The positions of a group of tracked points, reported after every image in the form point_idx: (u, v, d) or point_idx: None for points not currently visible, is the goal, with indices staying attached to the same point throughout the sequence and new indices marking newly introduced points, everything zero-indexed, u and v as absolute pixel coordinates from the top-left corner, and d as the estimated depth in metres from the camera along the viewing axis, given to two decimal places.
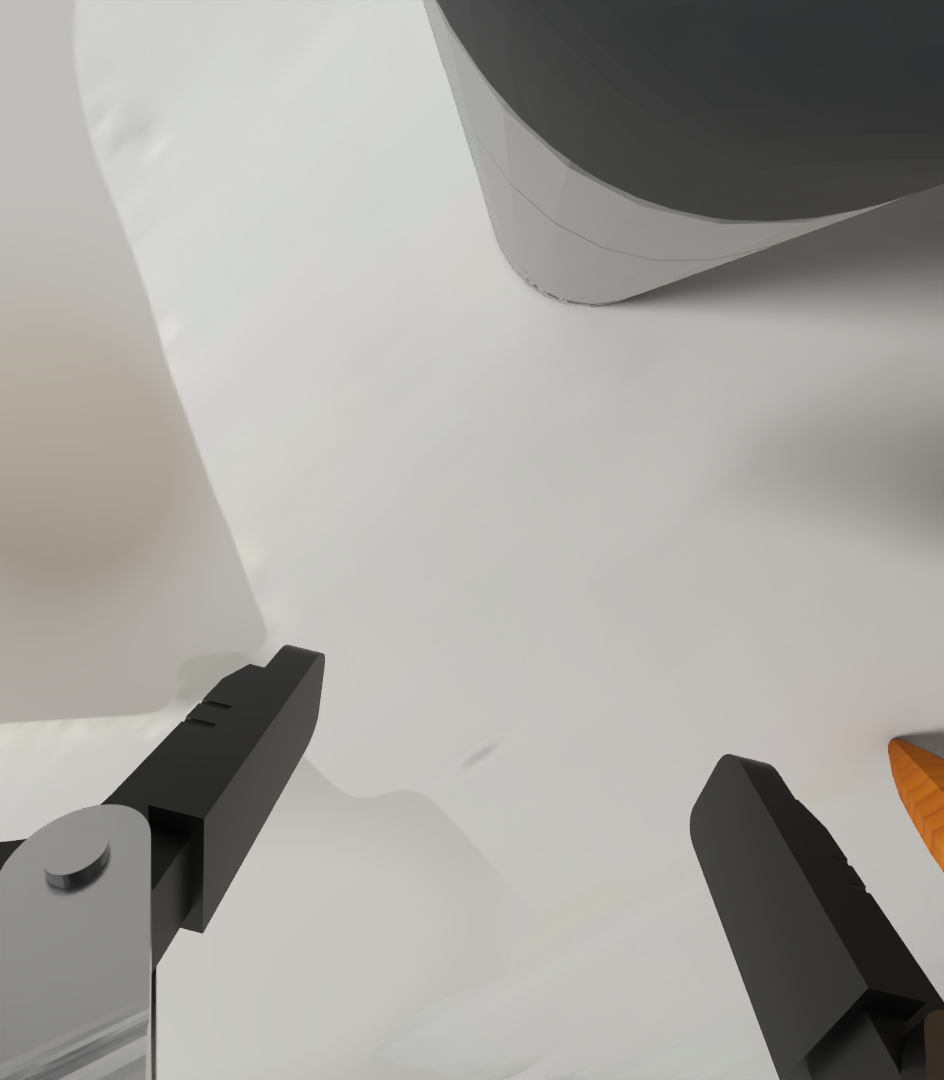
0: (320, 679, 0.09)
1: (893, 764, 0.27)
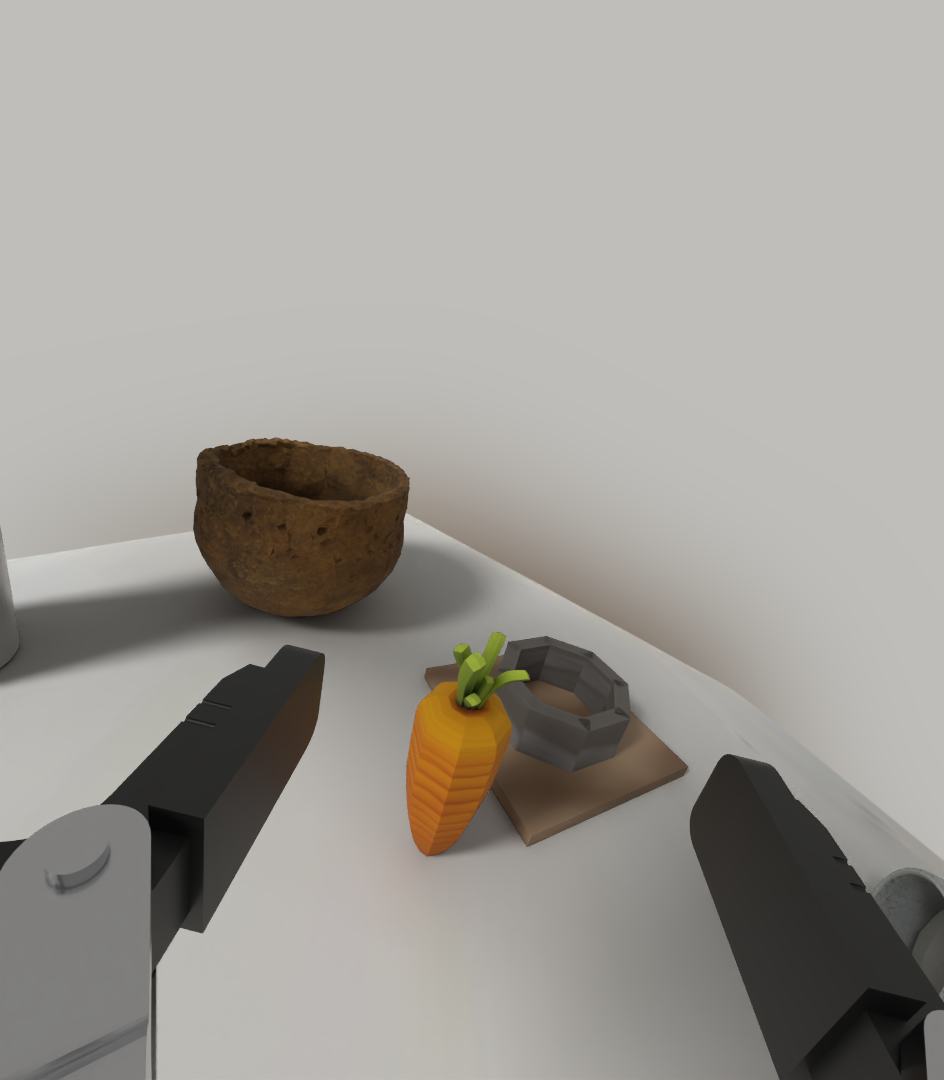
0: (320, 679, 0.09)
1: None
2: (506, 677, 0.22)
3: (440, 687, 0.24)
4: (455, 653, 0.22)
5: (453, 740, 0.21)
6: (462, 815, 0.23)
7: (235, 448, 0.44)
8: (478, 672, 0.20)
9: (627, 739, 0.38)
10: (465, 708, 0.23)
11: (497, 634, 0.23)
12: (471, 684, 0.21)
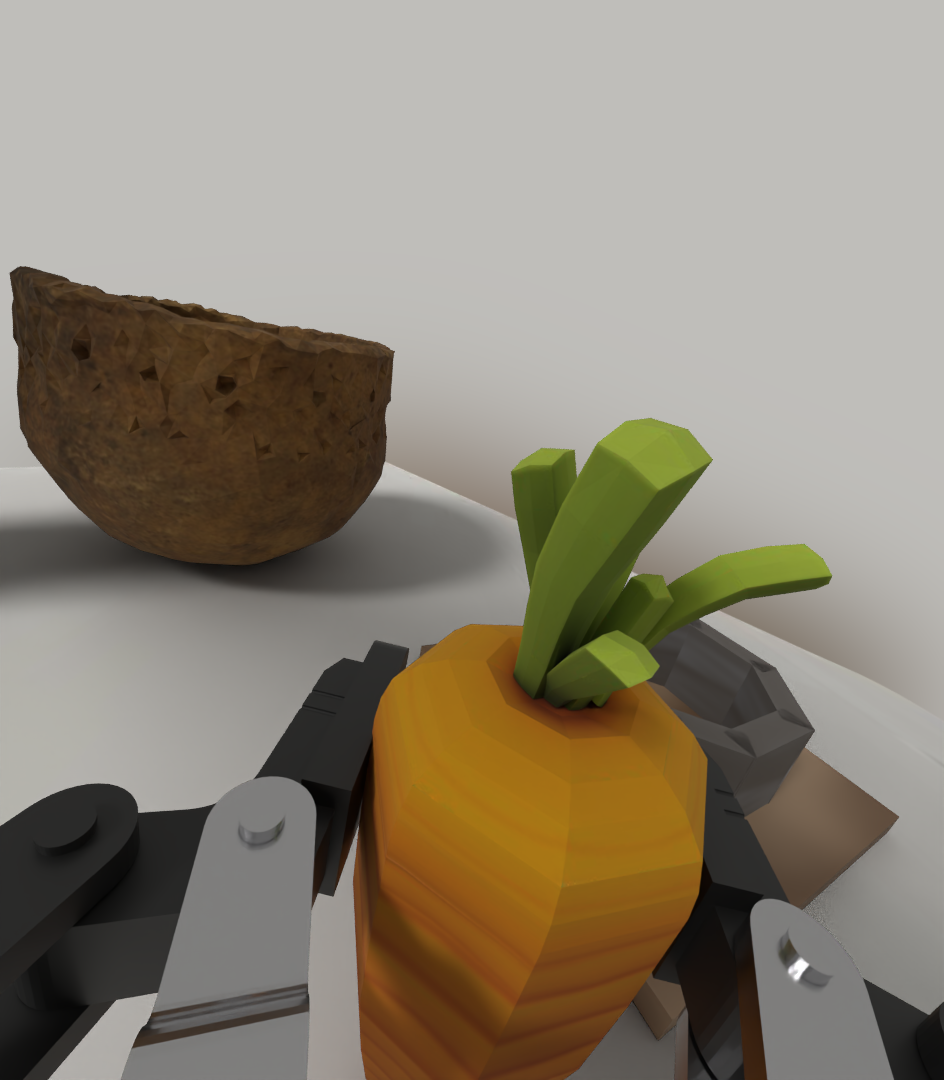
0: None
1: None
2: (724, 576, 0.05)
3: (455, 638, 0.07)
4: (521, 481, 0.05)
5: (524, 845, 0.05)
6: None
7: None
8: (665, 510, 0.04)
9: None
10: (550, 705, 0.06)
11: None
12: (598, 596, 0.05)
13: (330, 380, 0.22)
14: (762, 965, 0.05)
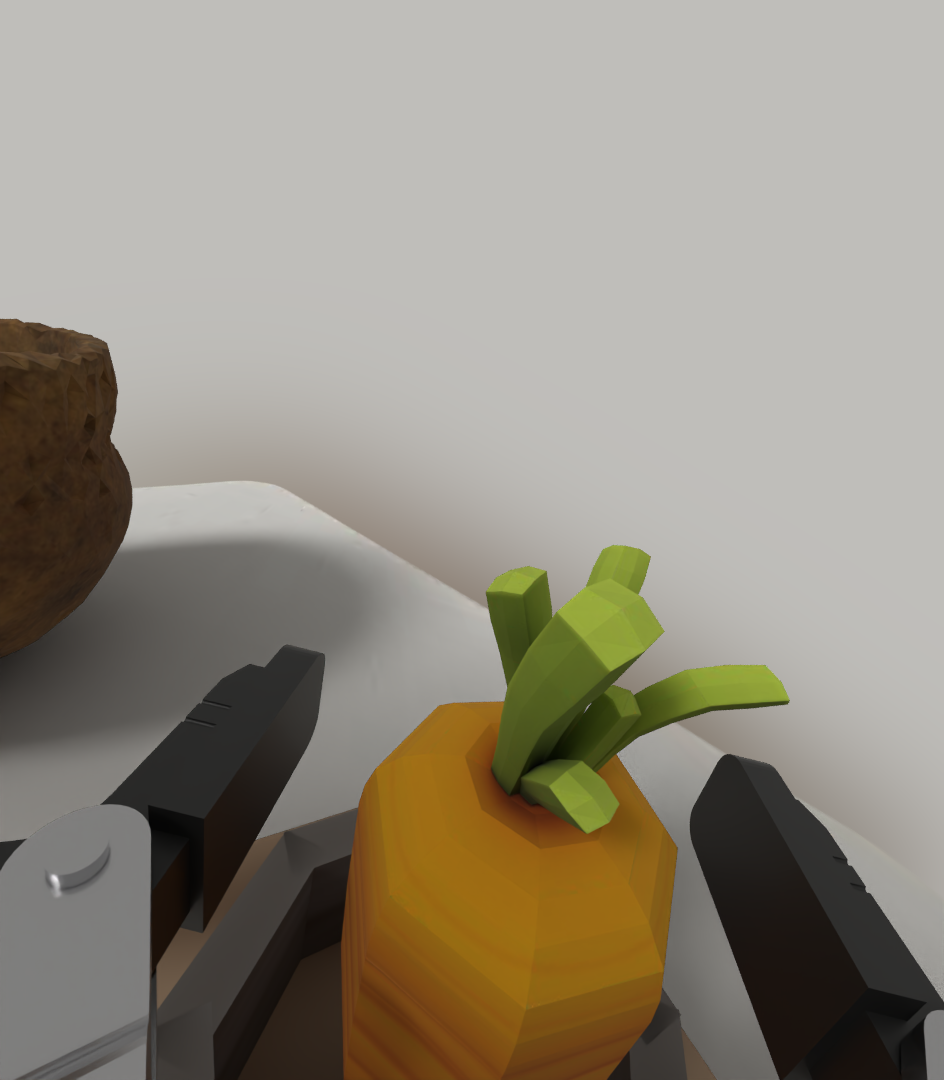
0: (320, 679, 0.09)
1: None
2: (688, 692, 0.06)
3: (438, 722, 0.08)
4: (495, 601, 0.06)
5: (493, 966, 0.05)
6: None
7: None
8: (621, 674, 0.04)
9: None
10: (525, 803, 0.06)
11: (625, 549, 0.07)
12: (565, 724, 0.05)
13: None
14: (937, 1077, 0.05)
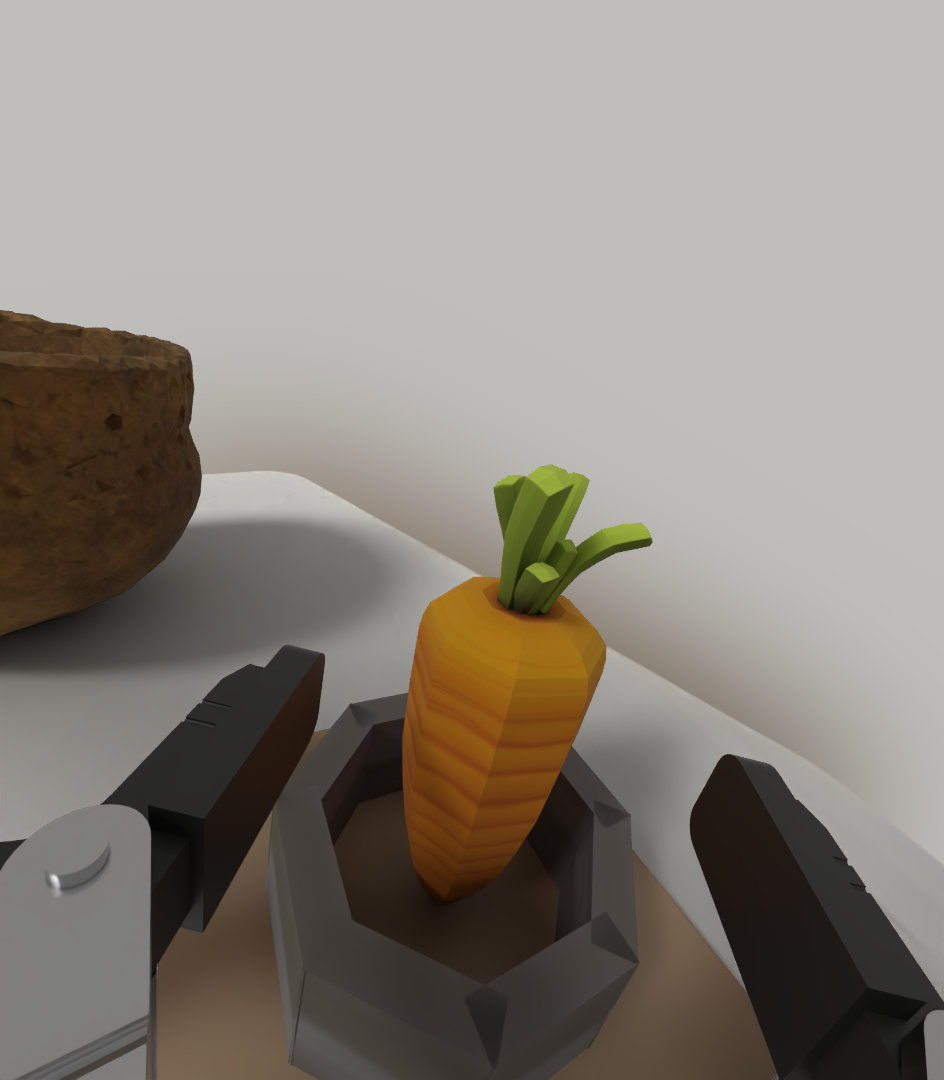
0: (320, 679, 0.09)
1: (417, 875, 0.14)
2: (602, 540, 0.11)
3: (464, 583, 0.13)
4: (498, 492, 0.11)
5: (499, 664, 0.10)
6: (512, 828, 0.12)
7: None
8: (556, 504, 0.09)
9: None
10: (517, 613, 0.11)
11: (573, 474, 0.12)
12: (534, 547, 0.10)
13: (1, 406, 0.15)
14: (937, 1077, 0.05)
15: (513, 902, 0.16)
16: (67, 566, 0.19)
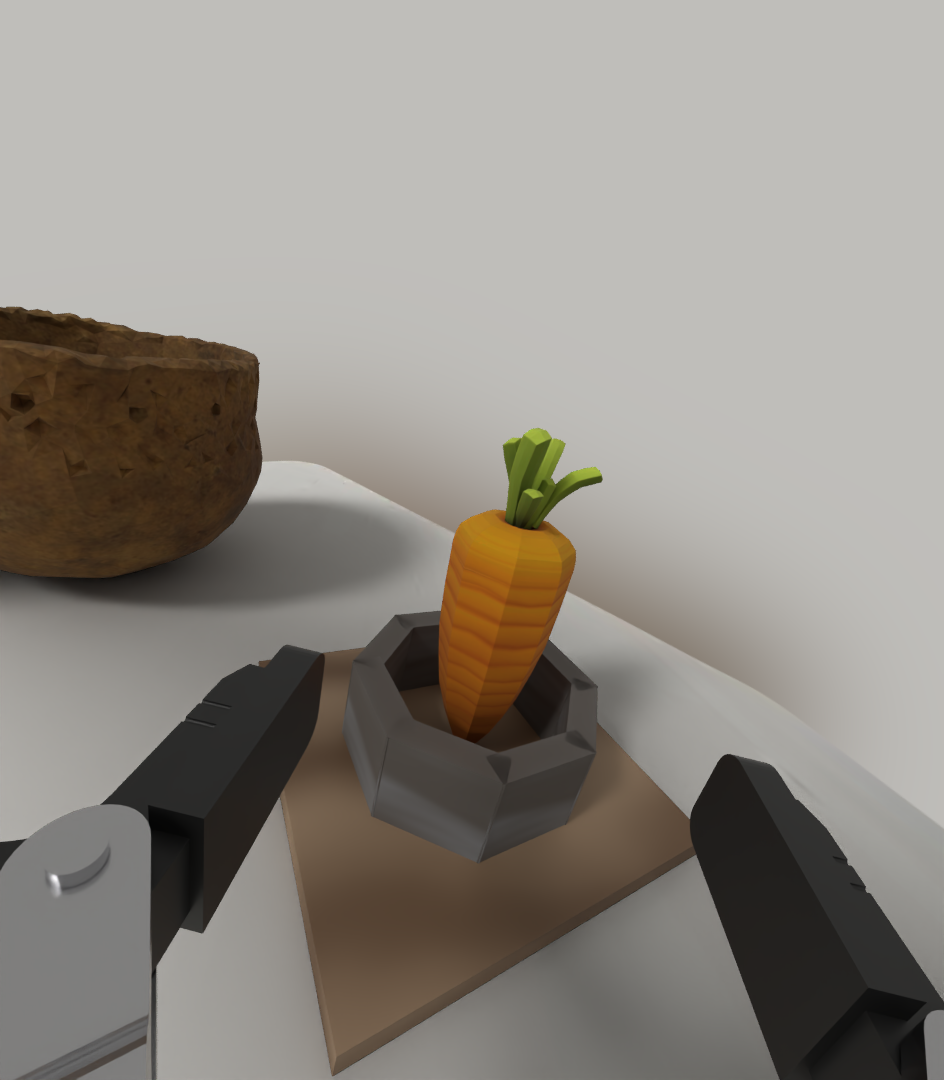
0: (320, 679, 0.09)
1: (448, 719, 0.20)
2: (571, 478, 0.17)
3: (482, 513, 0.19)
4: (506, 448, 0.17)
5: (506, 550, 0.16)
6: (514, 669, 0.18)
7: None
8: (541, 451, 0.16)
9: (597, 785, 0.21)
10: (517, 527, 0.18)
11: (554, 439, 0.18)
12: (528, 480, 0.16)
13: (150, 396, 0.22)
14: (937, 1078, 0.05)
15: None
16: (179, 517, 0.25)
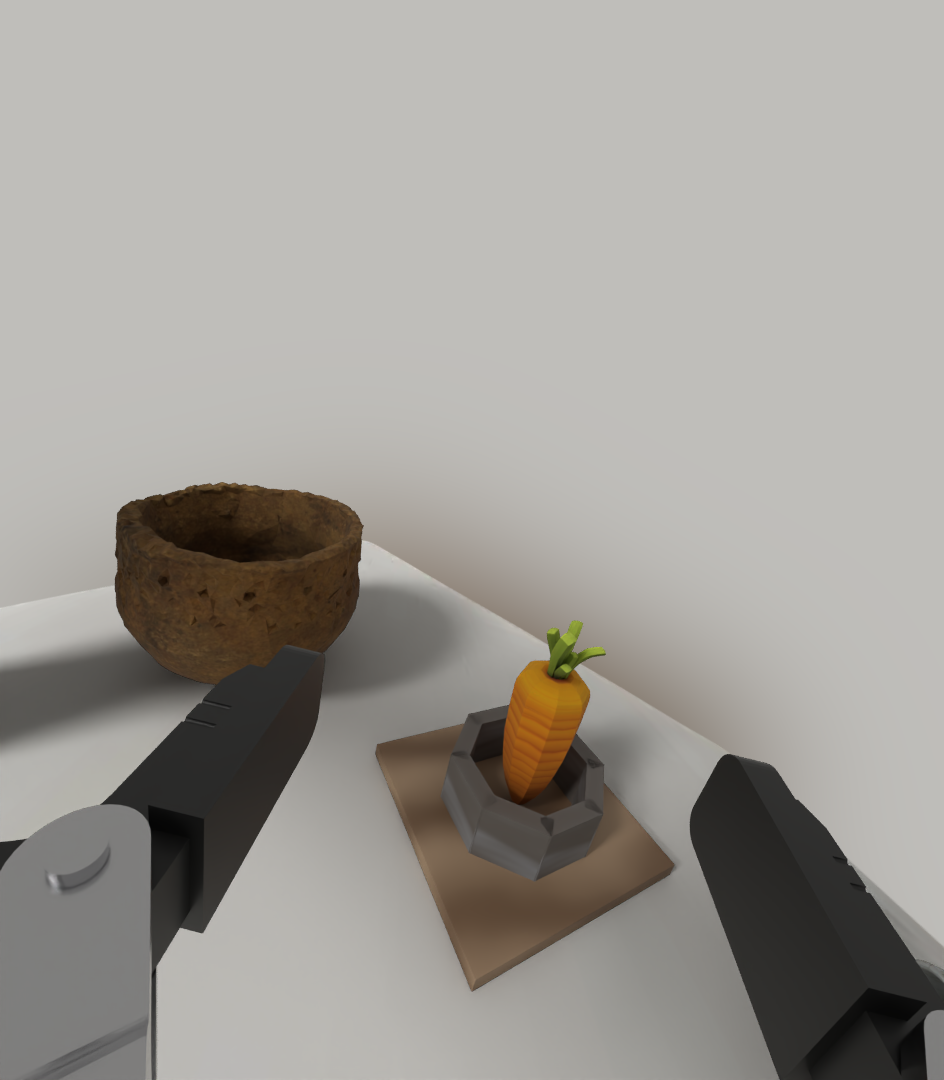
0: (320, 679, 0.09)
1: (509, 789, 0.32)
2: (587, 652, 0.29)
3: (532, 664, 0.31)
4: (548, 635, 0.29)
5: (550, 700, 0.28)
6: (553, 763, 0.30)
7: (171, 497, 0.40)
8: (570, 646, 0.27)
9: (604, 830, 0.33)
10: (555, 678, 0.30)
11: (576, 622, 0.30)
12: (562, 657, 0.28)
13: (314, 578, 0.34)
14: (937, 1077, 0.05)
15: (550, 807, 0.34)
16: (320, 644, 0.37)
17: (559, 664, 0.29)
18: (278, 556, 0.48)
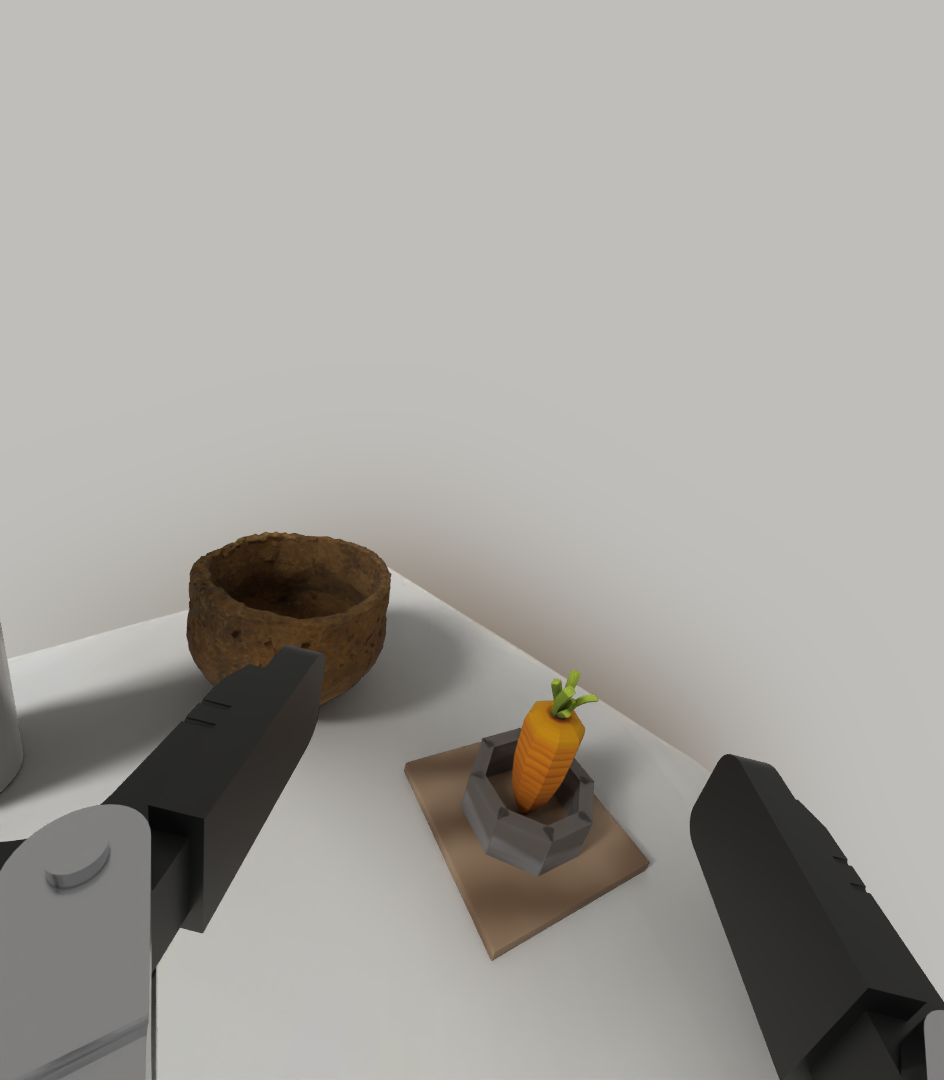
0: (320, 679, 0.09)
1: (517, 802, 0.39)
2: (583, 699, 0.36)
3: (538, 704, 0.38)
4: (552, 685, 0.36)
5: (553, 738, 0.35)
6: (554, 785, 0.37)
7: (226, 550, 0.46)
8: (570, 697, 0.34)
9: (593, 834, 0.40)
10: (557, 718, 0.37)
11: (575, 672, 0.37)
12: (564, 704, 0.35)
13: (356, 627, 0.41)
14: (937, 1077, 0.05)
15: (549, 815, 0.41)
16: (357, 678, 0.44)
17: (561, 708, 0.36)
18: (311, 593, 0.55)
